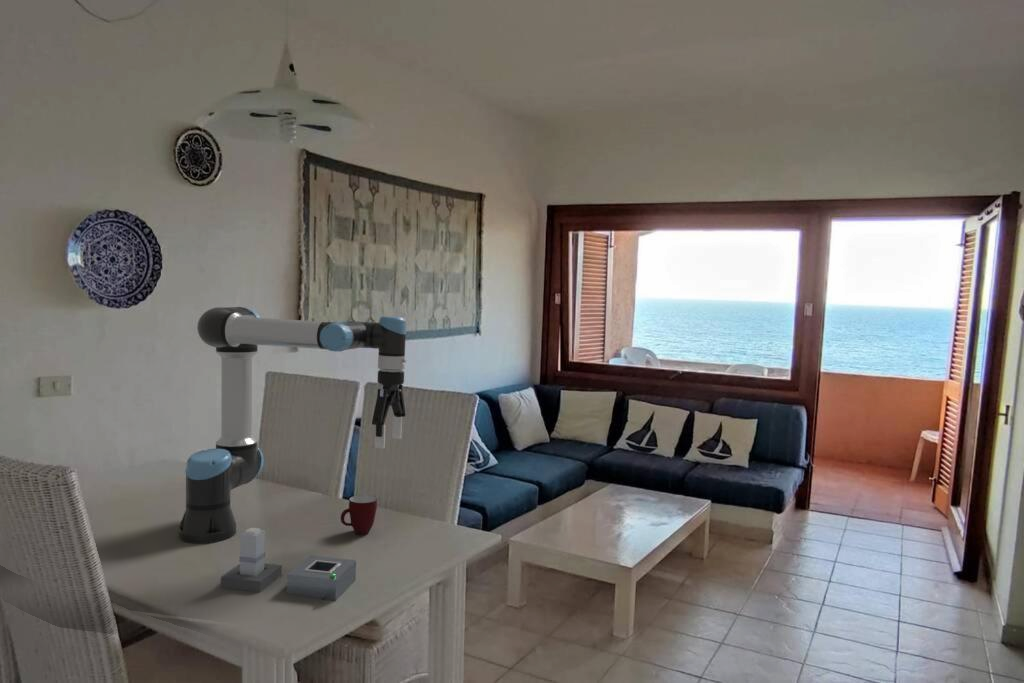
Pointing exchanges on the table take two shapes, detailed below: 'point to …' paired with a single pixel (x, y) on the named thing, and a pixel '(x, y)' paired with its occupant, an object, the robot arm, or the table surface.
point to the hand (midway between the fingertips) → (388, 443)
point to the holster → (251, 578)
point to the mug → (361, 513)
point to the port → (322, 577)
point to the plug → (252, 552)
